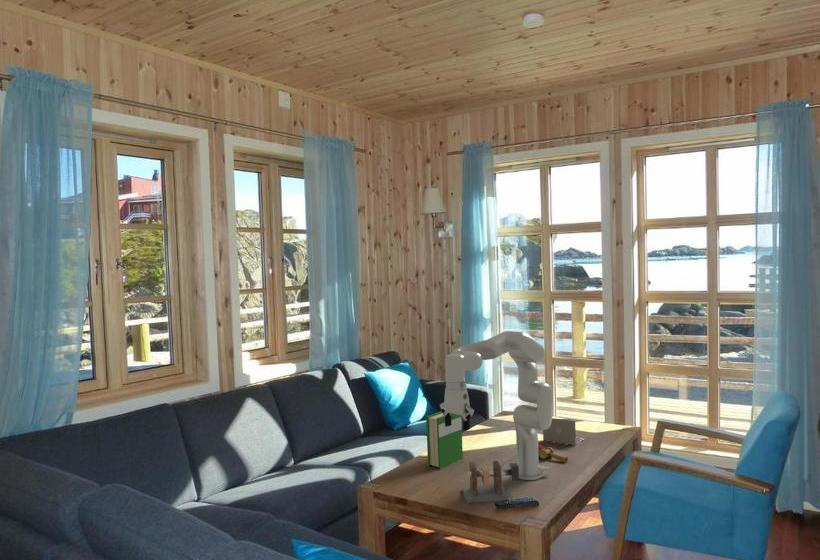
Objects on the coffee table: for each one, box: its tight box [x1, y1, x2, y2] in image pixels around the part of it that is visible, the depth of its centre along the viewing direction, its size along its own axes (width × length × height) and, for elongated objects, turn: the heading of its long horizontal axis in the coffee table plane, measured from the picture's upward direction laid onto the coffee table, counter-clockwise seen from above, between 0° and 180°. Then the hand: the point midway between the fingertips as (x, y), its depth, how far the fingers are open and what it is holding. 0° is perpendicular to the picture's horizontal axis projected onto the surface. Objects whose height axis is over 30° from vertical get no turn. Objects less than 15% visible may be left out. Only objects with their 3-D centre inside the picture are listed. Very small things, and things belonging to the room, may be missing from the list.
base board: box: [461, 484, 509, 504], centre depth 259 cm, size 17×14×2 cm
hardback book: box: [425, 411, 464, 469], centre depth 301 cm, size 18×7×24 cm, turn 138°
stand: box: [468, 460, 503, 496], centre depth 259 cm, size 12×8×11 cm, turn 92°
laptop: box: [542, 417, 585, 446], centre depth 330 cm, size 18×12×13 cm
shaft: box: [467, 462, 520, 482], centre depth 259 cm, size 20×4×6 cm, turn 92°
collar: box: [480, 465, 491, 485], centre depth 259 cm, size 2×6×6 cm, turn 2°
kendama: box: [538, 444, 569, 464], centre depth 301 cm, size 8×6×18 cm
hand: (457, 428), depth 249 cm, fingers open, 9 cm apart
